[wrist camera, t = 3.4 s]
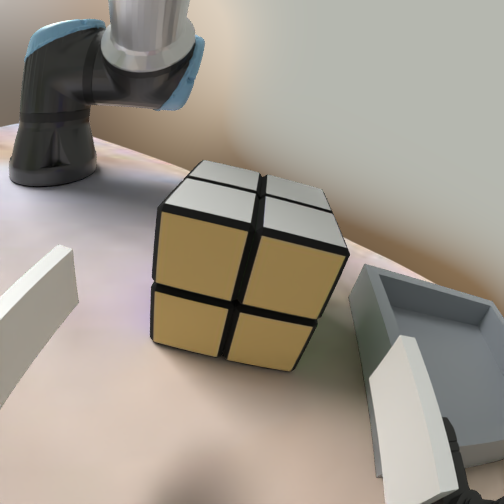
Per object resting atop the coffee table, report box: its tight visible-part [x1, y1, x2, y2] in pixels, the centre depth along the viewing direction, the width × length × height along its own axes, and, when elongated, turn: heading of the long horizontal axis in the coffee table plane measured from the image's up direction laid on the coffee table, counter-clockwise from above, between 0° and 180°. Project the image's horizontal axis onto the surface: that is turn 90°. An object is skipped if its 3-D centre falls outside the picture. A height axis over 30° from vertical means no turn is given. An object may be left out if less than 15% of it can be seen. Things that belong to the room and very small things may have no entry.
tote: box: [348, 264, 504, 477], centre depth 21 cm, size 18×18×4 cm
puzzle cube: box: [150, 160, 350, 372], centre depth 22 cm, size 10×10×10 cm
